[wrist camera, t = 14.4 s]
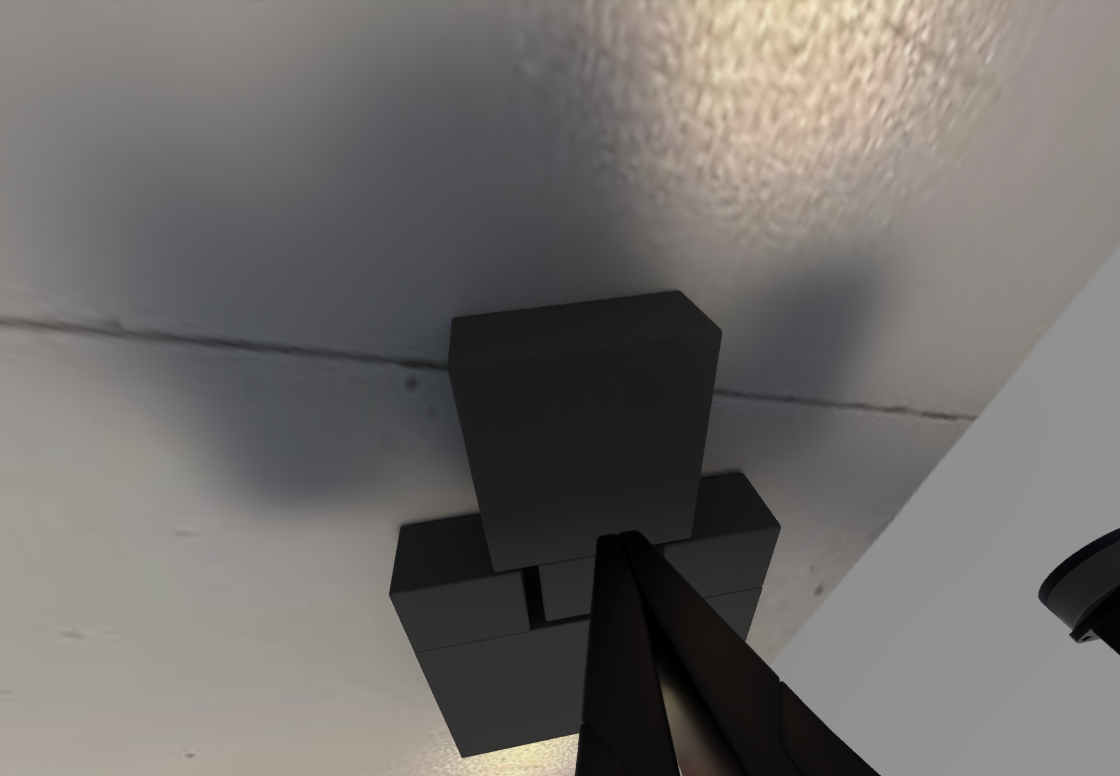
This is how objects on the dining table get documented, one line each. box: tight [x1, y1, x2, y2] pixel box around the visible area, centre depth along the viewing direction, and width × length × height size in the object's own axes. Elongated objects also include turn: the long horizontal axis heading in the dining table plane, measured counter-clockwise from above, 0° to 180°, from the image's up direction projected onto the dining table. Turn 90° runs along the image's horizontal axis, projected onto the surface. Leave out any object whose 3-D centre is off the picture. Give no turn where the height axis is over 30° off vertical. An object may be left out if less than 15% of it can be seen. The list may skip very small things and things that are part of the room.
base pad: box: [389, 473, 781, 758], centre depth 18 cm, size 12×12×2 cm
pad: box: [448, 291, 722, 621], centre depth 13 cm, size 6×10×2 cm, turn 3°
